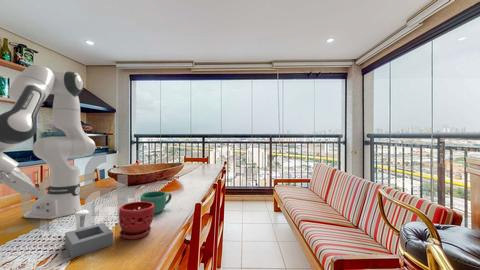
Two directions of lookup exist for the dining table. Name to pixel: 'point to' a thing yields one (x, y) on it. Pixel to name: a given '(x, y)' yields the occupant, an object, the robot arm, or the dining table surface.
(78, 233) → the socket collar
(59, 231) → the dining table surface
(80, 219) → the milkshake
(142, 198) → the mug
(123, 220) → the plant pot
